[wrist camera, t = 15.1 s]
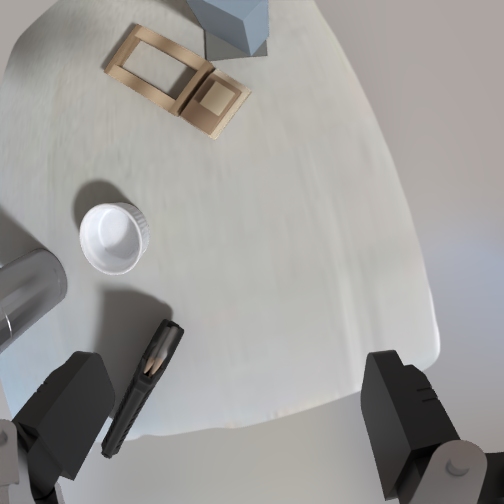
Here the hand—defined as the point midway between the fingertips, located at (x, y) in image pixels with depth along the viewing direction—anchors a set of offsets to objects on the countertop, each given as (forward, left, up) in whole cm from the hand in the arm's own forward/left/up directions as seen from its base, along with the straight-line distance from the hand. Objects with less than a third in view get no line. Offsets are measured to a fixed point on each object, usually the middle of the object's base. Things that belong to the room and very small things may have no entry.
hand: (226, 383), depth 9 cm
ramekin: (-18, -2, -30) cm, 35 cm away
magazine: (-20, -26, -30) cm, 45 cm away
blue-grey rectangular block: (-1, +22, -30) cm, 37 cm away
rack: (-9, +16, -30) cm, 35 cm away
